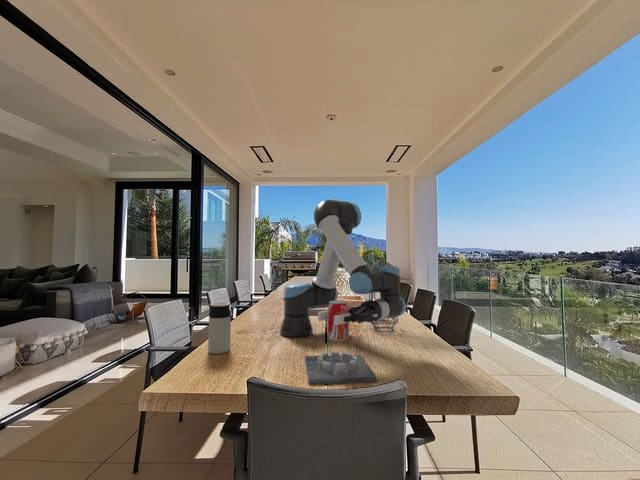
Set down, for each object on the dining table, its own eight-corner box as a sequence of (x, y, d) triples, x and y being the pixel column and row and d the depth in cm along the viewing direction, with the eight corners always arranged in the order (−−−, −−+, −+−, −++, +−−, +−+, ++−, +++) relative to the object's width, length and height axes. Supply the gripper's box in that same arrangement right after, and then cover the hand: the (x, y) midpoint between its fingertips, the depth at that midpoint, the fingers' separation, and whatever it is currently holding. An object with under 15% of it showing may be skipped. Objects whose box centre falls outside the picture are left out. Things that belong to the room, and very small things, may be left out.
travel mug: (227, 354, 117) (228, 305, 118) (205, 354, 117) (206, 305, 117) (232, 347, 125) (233, 301, 126) (211, 348, 125) (212, 301, 125)
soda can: (325, 336, 106) (326, 300, 106) (346, 336, 106) (346, 300, 107) (328, 342, 99) (328, 303, 99) (350, 341, 99) (350, 303, 100)
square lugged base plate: (308, 384, 91) (308, 370, 91) (304, 360, 111) (305, 349, 111) (376, 382, 93) (376, 368, 93) (360, 359, 113) (360, 347, 113)
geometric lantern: (402, 333, 149) (400, 259, 150) (368, 334, 149) (367, 260, 150) (394, 325, 165) (393, 258, 166) (364, 326, 165) (363, 258, 166)
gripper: (397, 325, 107) (349, 337, 92) (353, 316, 122) (306, 324, 107) (397, 303, 107) (349, 310, 92) (353, 296, 122) (307, 302, 107)
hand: (326, 318), depth 99 cm, fingers closed on soda can, 7 cm apart
